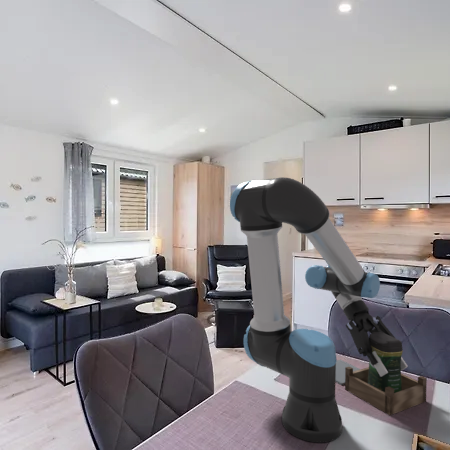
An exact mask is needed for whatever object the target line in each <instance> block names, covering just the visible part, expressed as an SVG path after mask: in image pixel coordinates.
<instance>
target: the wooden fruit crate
mask: <svg viewBox="0 0 450 450" xmlns="http://www.w3.org/2000/svg"><path fill="white" fill-rule="evenodd" d="M359 369H360V370H357V371H353V368H351V367H345V384H344V389H345V391H347V392H348V393H351V394H352V395H354V396H356V397H357V398H359V399H361V400H362V401H365V403H368V404H370V405H371V406H373V407H374V408H377V409H378V410H380V411H381V412H383V413H385V414H387V415H388V416H392V415H394V414H397V413H400V412H402V411H406V410H408V409H411V408H414V407H416V406H418V405H420V404H424V403H427V383H428V380H427V377H425V376H423V375H419V376H418V377H417V380H416V379H414V378H412V377H410V376H407V375H406V374H403V373H401V385H402V391H399V392H396V393H394V389H393V388H391V387H386V388H385V392H383V391H381V390H379V389H377V388H375V387H373V386H371V385H369V384H368V374H369V366H368V367H365V368H359Z"/></svg>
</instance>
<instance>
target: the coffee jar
mask: <svg viewBox="0 0 450 450" xmlns="http://www.w3.org/2000/svg"><path fill="white" fill-rule="evenodd" d="M368 336H369V340H370V344H371V348H372V352H373V351H375V352H376V353H377V355H378V357H379V358H380V360H381V362H382V363H383V365H384V366H385V368H386V370H387V371H388V373H387V374H385V375H384V376H382V377H380V375H379V373H378V372H377V370H376V368H375V367H374V365H372V364H371V362H370V360H369V359H368V361H369V362H368V367H369V374H368V384H369V385H371V386H373V387H375V388H377V389H379V390H381V391H383V392H385V388H386V387H391V388H393V389H394V393H396V392H399V391H402V385H401V374H402V371H401V356H402V357H403V343H402V341H401V340H400V339H397V338H396V337H395V338H393V337H391V336H389V335H387V334H385V333H384V332H373V333H370V334H369V335H368Z"/></svg>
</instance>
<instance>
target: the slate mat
mask: <svg viewBox="0 0 450 450" xmlns="http://www.w3.org/2000/svg"><path fill="white" fill-rule="evenodd" d="M345 367H351V368H353V371H357V370H360V369H361V368H359V367H357V366H355V365H353V364H350V362H347V361H344V360H342V359H337V361H336V380H335V383H336V384H339V385H340V386H345Z"/></svg>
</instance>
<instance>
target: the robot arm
mask: <svg viewBox="0 0 450 450" xmlns="http://www.w3.org/2000/svg"><path fill="white" fill-rule="evenodd" d="M229 211H230V214H231V215H232V217H234V220H235V221H237V222H239V226H240V227H239V228H240V232H241V233H243V234H244V236H246V241H247V242H246V243H247V253H248V263H249V273H250V274H249V275H250V284H251V295H252V304H253V306H252V307H253V315H254V316H253V318H252V319H251V320H250V322H249V325H248V326H247V328H246V330H245V334H244V335H243V348H244V351H245V354H246V356H247V357H248V358H249V359H250V360H251V361H253V362H254V363H256V364H257V365H259V366H260V367H263V368H267V369H269V370H270V371H274V372H276V373H278V374H281V375H282V376H285V377H287V378H288V379H289V380H288V381H289V384H288V385H289V392H288V395H287V399H286V401H285V405H284V407H283V409H282V418H281V421H282V425H283V427H284V429H285V430H286V431H287V432H288V433H289V434H291V435H292V436H294V437H295V438H298V439H299V440H303V441H307V442H309V443H310V442H312V443H329V442H332V441H335V440H336V439H338V438H339V437H340V436H341V434H342V433H343V420H342V419H343V418H342V416H341V414H340V410H339V406H338V403H337V399H336V382H335V380H336V361H337V360H338V359H337V352H336V345H335V343H334V341H333V339H332V338H331V337H329V336H328V335H327V334H325V333H323V332H321V331H317V330H315V329H308V328H298V329H296V328H295V329H294V330H292V326H291V320H290V318H289V317H288V316H286V314H285V308H284V296H283V295H284V294H283V284H282V271H281V259H280V250H279V236H278V233H279V232H280V231H281V230H282V228H283V223H284V224H288V225H290V226H292V227H294V229H295V230H296V231H297V233H299V234H302V235H304V236H306V238H307V239H308V240H309V242H310V243H311V244H312V245H313V247H314V248H315V250H316V251H317V252H318V254H319V255H320V256H321V258H322V259H323V260H324V261H325V263H326V264H327V266H323V265H315V264H314V265H311V266H309V267H308V268H307V269H306V272H305V274H304V277H305V278H304V279H305V282H306V284H307V285H308V286H309V287H310V288H313V289H316V290H322V291H329V292H331V294H332V295H333V296H334V298H335V300H336V301H337V303H338V305H339V307H340V308H341V309H342V310H343V313H344V315H345V316H346V319H347V321H348V322H347V324H345V328H346V329H347V330H348V331H349V333H350V336H351V339H352V340H353V342H354V345H355V347H356V350H357V351H358V353H359V355H363V357H367V358H368V361H369V360H370V362H371V364H372V365H374V367H375V368H376V370H377V372H378V373H379V375H380V377H382V376H384V375H385V374H387V373H388V371H387V370H386V368H385V366H384V365H383V363H382V362H381V360H380V358H379V357H378V355H377V353H376V352H375V351H373V352H372V348H371V344H370V340H369V336H370V335H369V333H370V334H371V333H373V332H384V333H385V334H387V335H389V336H391V337H393V338H396V337H395V336H394V334H393V333H392V332H391V331H390V329H389V328H388V327H387V326H386V325H385V323H384V322H383V321H382V319H381V317H380V316H379V315H377V316H375V317H374V316H372V315H371V314H370V313H369V312H370V311H369V310H370V309H369V307H368V306H367V304H366V303H365V301H364V300H362V299H363V298H365V299H366V298H368V299H374V298H375V297H376V296H378V294H379V291H380V287H381V281H380V277H379V276H378V274H376V273H374V272H371V271H369V272H367V271H366V270H364V268H363V266H362V265H361V264H360V262H359V261H358V259H357V258H356V256H355V255H354V253H353V251H352V250H351V248H350V247H349V246H348V244H347V243H346V242H345V240H344V238H343V237H342V235H341V234H340V232H339V230H338V229H337V228H336V226H335V225H334V223H333V222H332V220H331V219H330V215H331V214H330V210H329V209H328V207H327V205H326V204H325V202H324V201H323V200H322V199H321V198H320V197H319V196H318V195H317V193H315V191H313V190H312V189H311V188H309V187H308V186H307V185H306V184H304V183H302V182H300V181H299V180H296V179H294V178H290V177H285V176H284V177H274V178H267V179H264V178H263V179H252V180H249V181H248V180H247V181H244V182H242V183H240V184H238V186H236V187H235V189H234V190H233V192H232V193H231V196H230V200H229ZM368 332H369V333H368ZM408 367H409V365H408V364H407V363H406V361H405V359H404V358H403V355H402V356H401V372H402V371H403V370H405V369H406V368H408Z"/></svg>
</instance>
